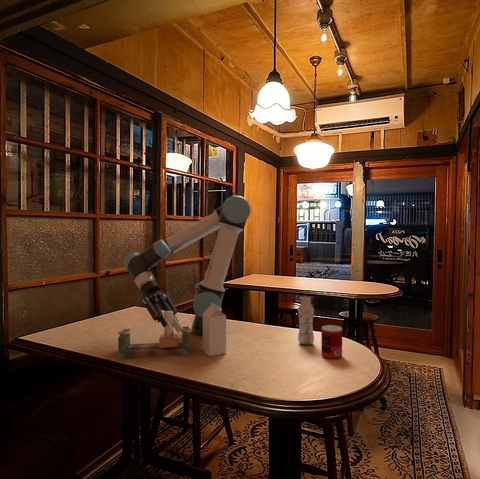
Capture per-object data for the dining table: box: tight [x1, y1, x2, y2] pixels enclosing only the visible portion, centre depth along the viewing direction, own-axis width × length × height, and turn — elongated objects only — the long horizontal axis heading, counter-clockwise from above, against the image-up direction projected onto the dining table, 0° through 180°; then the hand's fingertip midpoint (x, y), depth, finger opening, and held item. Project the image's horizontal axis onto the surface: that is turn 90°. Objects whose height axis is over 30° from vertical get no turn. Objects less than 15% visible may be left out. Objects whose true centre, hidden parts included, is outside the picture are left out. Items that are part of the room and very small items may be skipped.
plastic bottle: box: [297, 295, 315, 346], centre depth 148 cm, size 6×7×20 cm
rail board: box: [117, 326, 191, 360], centre depth 139 cm, size 28×12×8 cm, turn 99°
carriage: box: [158, 311, 179, 348], centre depth 140 cm, size 7×7×13 cm
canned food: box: [320, 324, 343, 361], centre depth 134 cm, size 8×8×11 cm
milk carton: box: [202, 303, 227, 357], centre depth 138 cm, size 7×7×19 cm
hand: (175, 331), depth 137 cm, fingers closed on carriage, 4 cm apart
